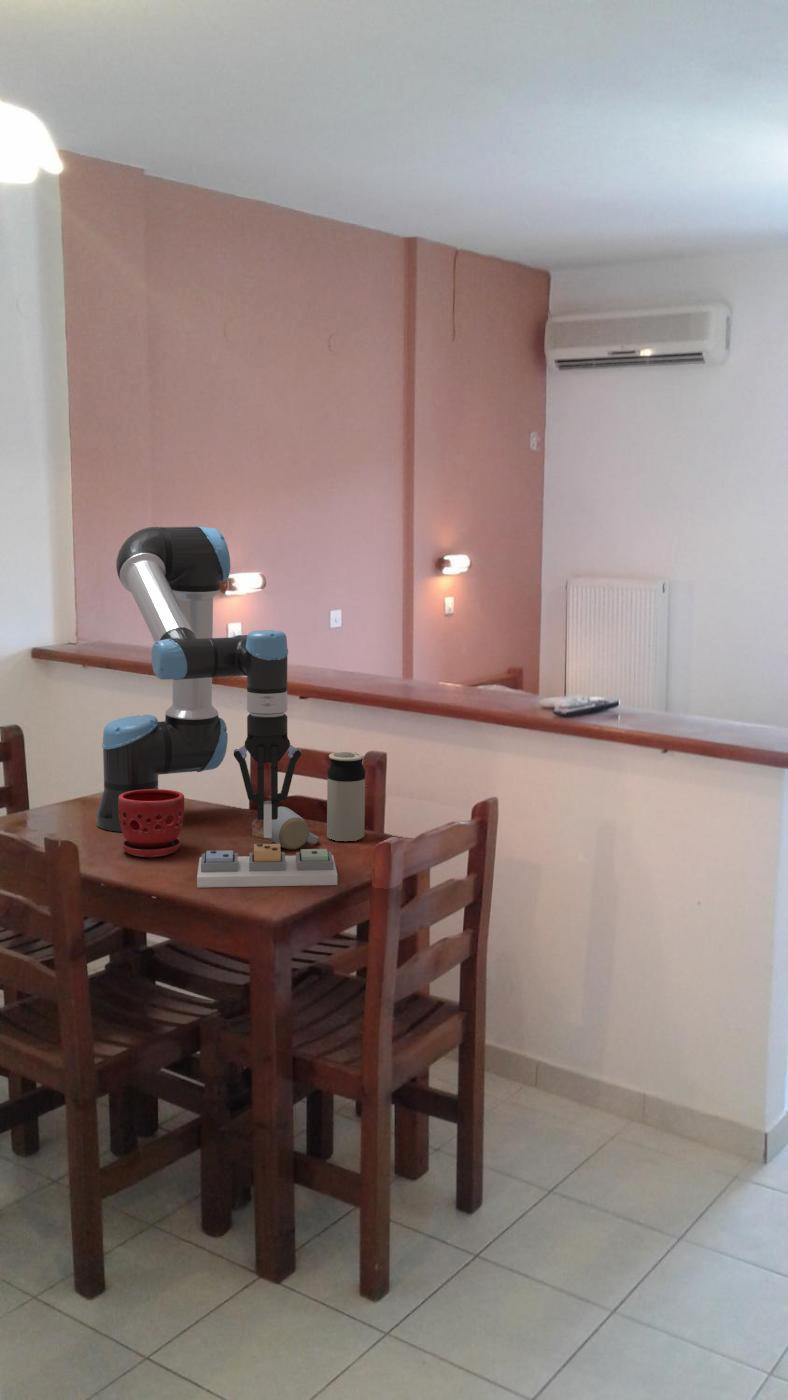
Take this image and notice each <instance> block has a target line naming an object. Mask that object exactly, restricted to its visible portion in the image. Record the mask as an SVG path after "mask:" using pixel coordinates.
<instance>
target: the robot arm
mask: <svg viewBox="0 0 788 1400" xmlns="http://www.w3.org/2000/svg"><path fill="white" fill-rule="evenodd" d="M115 564H116V565H115V566H116V572H117V577H118V579H119V581H120V583H121V584H122V586H123V588H124V589H125V590H127V591H128V592H130V593H131V594H132V597H133V599H134V601H135V604H136V605H137V608H138V610H139V611H140V614H141V615H142V618H143V620H144V622H145V624H146V627H147V628H148V630H149V633H150V634H151V637H152V639H153V641H154V643H153V645H152V648H151V653H150V655H151V658H150V659H151V665H152V671H153V673H154V675H155V677H156V678H158V679H160V680H172V703H171V706H169V707H168V708H167V709H166V710H165V716H164V717H165V719H164V721H159V720H158V718H157V717H156V716H154V715H152V714H151V715H150V714H143V715H139V714H137V715H129V716H124V717H121V718H116V719H114V720H112V721H110V722H108V723H107V724H106V725H105V727H104V729H103V733H102V735H103V736H102V745H101V748H102V753H103V754H102V755H103V759H102V760H103V761H102V762H103V792H102V795H101V798H100V802H99V805H98V808H97V812H96V816H95V817H96V826H97V827H98V828H100V829H103V830H106V831H110V832H111V831H112V832H121V833H122V830H121V827H120V822H119V812H118V798H119V795H120V794H122V793H125V792H129V791H135V790H145V789H159V775H169V774H180V773H181V774H182V773H192V772H193V773H194V772H196V773H200V772H203V771H211V770H215V769H217V768H219V766H221V764H222V763H223V761H224V759H225V757H226V754H227V749H228V735H229V734H228V732H227V730H228V728H227V723H226V722H225V720H224V719H223V718H221V717H219V711H218V710H217V709H216V708H215V707H214V706H213V703H212V702H213V700H212V699H213V698H212V697H213V694H212V693H213V678H229V677H230V678H231V677H232V678H233V677H246V711H247V712H248V714H247V716H246V729H247V730H246V733H247V734H246V739H245V741H244V745H242V746H240V747H239V748H235V749H234V750H233V757H234V758H235V760H236V761H237V763H238V765H239V769H240V772H241V776H242V780H243V784H244V787H245V792H246V797H247V799H248V801H250V802H255V803H256V804H257V819H258V820H259V821H261V820H263V823H264V830H263V838H264V839H268V838H272V820H275V819H277V818H278V807H279V803H280V802H282V801H286V800H287V799H288V796H289V792H290V787H291V784H292V780H293V776H294V771H295V769H296V764H297V762H298V760H299V759H300V757H301V756H302V750H301V749H300V748H298V747H297V748H296V747H294V746H293V745H292V744H291V741H290V740H289V736H288V715H287V714H286V713H287V711H288V655H289V649H288V639H287V638H288V637H287V634H286V633H285V632H283V631H281V630H273V629H271V630H269V629H268V630H267V629H266V630H265V629H264V630H261V629H259V630H253V631H250V632H248V633H247V634H238V635H234V636H232V637H213V636H214V635H213V634H214V633H213V631H214V630H213V629H214V628H213V624H214V622H213V621H214V619H213V618H214V617H213V616H214V598H215V597H216V596H217V594H219V593H220V592H221V583H223V582H225V581H228V579H229V577H230V572H231V557H230V551H229V548H228V544H227V542H226V538H225V537H224V535H223V534H222V533H221V532H220V530H218V529H217V528H214V527H207V526H149V527H145V528H142V529H140V530H138V531H135V532H133V534H131V535H130V536H128V537H127V539H126V540H125V541H124V542H123V544H122V545H121V547H120V548H119V550H118V554H117V557H116V562H115ZM287 751H288V753H287ZM247 752H248V754H249V755H250V756H251V758H252V759H253V760H254V761H255V762H256V766H257V768H256V769H257V772H256V773H257V780H256V781H257V782H256V783H257V791H256V792H257V793H256V792H255V791H254V788H253V784H252V781H251V780H252V779H251V776H250V773H249V768H248V764H247V761H246V758H247ZM286 753H287V757H288V758H289V759H288V763H287V766H286V770H285V773H284V774H285V776H284V778H283V782H282V787H281V790H280V792H278V791H279V787H278V786H279V785H278V783H279V781H278V779H279V778H278V777H279V773H278V772H279V771H278V770H279V769H278V768H279V766H278V765H279V764H278V763H279V762H280V761H281V759H283V757H284V756H285V754H286ZM265 763H269V764H270V787H271V788H270V799H271V800H265ZM157 815H159V814H157ZM140 817H141V818H142V815H141V814H140ZM166 819H168V816H167V817H166Z"/></svg>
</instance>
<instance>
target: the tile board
mask: <svg viewBox="0 0 788 1400" xmlns="http://www.w3.org/2000/svg"><path fill="white" fill-rule="evenodd" d="M248 853H249V856H247V855H246V856H244V855H243V856H239V853H238V852H233V862H229V863H206V853H202V854H201V856H199V861H198V866H197V875H196V888H198V889H199V888H201V889H202V888H238V887H239V888H240V887H241V888H246V887H247V888H249V887H254V888H255V887H292V886H293V887H295V886H296V887H297V886H298V887H299V886H302V887H303V886H338V870H337V866H336V862H335V857H334V855H333V854H332V851H327V853H328V861H301V851H296V852H295V855H286V853H285V851H283V852H282V851H281V861H262V862H254V852H248Z"/></svg>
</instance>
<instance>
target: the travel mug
mask: <svg viewBox="0 0 788 1400" xmlns="http://www.w3.org/2000/svg"><path fill="white" fill-rule="evenodd" d="M328 757H329V759H330V760H329V761H330V765H329V767H328V769H327V773H326V774H327V776H326V777H327V781H326V782H327V784H326V785H327V786H326V787H327V789H326V790H327V792H326V794H327V795H326V796H327V797H326V798H327V799H326V809H327V810H326V837H327V839H329V840H331V839H332V840H331V841H333V840H335V841H334V842H337V841H352V840H356V839H360V838H362V837H363V836H364V837H365V823H366V822H365V819H366V818H365V817H366V815H365V814H366V813H365V812H366V811H365V809H366V804H365V803H366V769H365V768H364V765H363V759H364V758H365V755H364V754H363V753H361V752H358V751H357V752H356V751H337V752H332V753H331V752H330V754H329V755H328Z"/></svg>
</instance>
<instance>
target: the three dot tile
mask: <svg viewBox="0 0 788 1400" xmlns="http://www.w3.org/2000/svg"><path fill="white" fill-rule="evenodd" d="M281 852H282V851H281V846H280V844H276V843H254V844H253V853H254V862H262V861H281Z"/></svg>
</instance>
